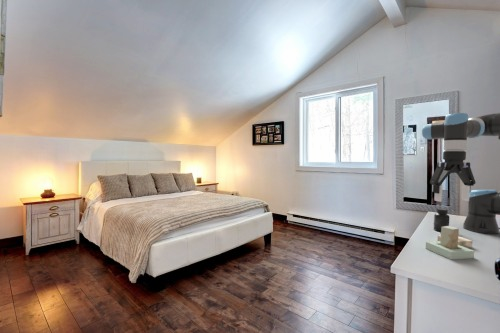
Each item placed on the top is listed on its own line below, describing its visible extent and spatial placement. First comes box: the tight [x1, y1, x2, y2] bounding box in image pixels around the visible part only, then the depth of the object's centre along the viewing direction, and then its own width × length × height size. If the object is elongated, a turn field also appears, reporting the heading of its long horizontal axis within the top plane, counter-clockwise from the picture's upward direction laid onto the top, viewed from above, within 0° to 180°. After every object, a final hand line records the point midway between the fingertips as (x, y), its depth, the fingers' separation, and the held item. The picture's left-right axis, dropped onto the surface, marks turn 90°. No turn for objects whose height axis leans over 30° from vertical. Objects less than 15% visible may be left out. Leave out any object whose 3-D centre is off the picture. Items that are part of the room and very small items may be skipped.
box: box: [440, 225, 460, 249], centre depth 108 cm, size 5×4×11 cm
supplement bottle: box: [433, 208, 450, 233], centre depth 141 cm, size 7×7×12 cm
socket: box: [425, 240, 475, 260], centre depth 108 cm, size 11×12×3 cm
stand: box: [437, 234, 473, 249], centre depth 119 cm, size 9×9×3 cm
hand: (451, 200), depth 107 cm, fingers open, 13 cm apart
